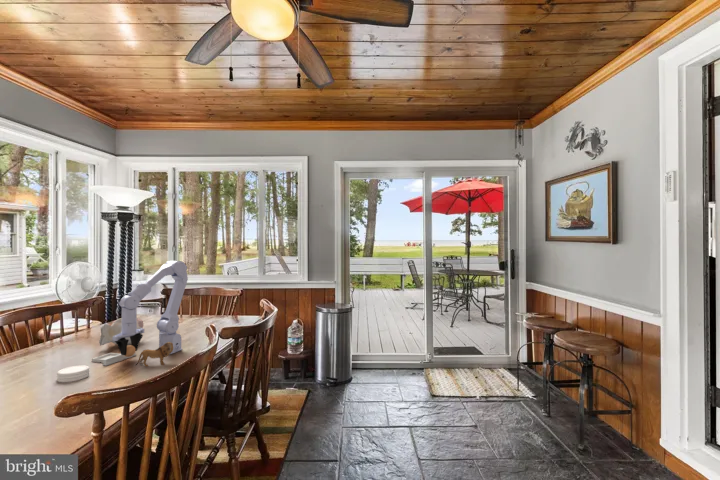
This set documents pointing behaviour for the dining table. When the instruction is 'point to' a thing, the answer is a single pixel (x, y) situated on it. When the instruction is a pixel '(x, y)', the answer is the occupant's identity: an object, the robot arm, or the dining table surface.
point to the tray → (103, 357)
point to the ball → (130, 351)
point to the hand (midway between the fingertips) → (129, 352)
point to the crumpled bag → (115, 331)
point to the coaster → (73, 373)
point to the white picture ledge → (115, 359)
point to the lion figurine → (156, 353)
